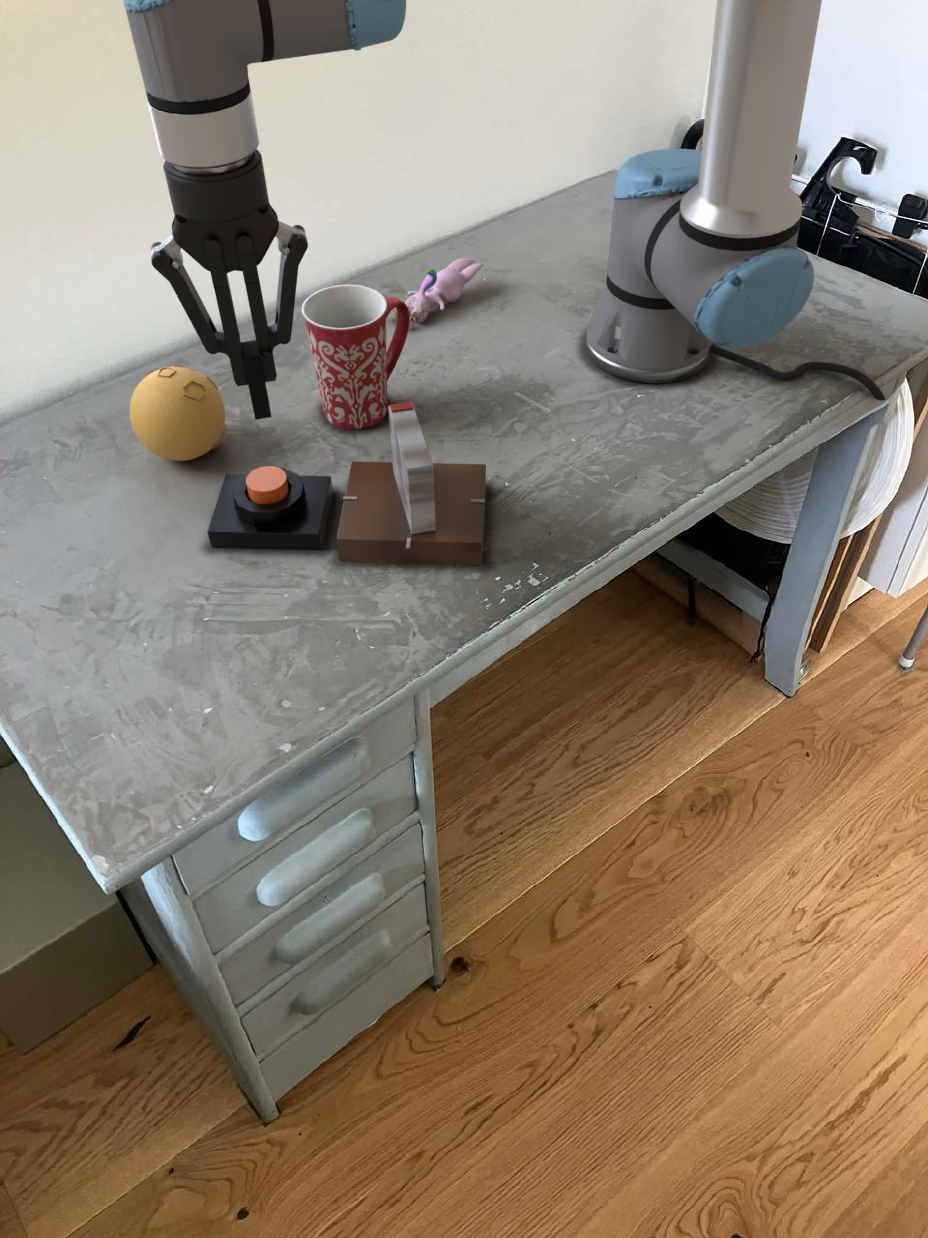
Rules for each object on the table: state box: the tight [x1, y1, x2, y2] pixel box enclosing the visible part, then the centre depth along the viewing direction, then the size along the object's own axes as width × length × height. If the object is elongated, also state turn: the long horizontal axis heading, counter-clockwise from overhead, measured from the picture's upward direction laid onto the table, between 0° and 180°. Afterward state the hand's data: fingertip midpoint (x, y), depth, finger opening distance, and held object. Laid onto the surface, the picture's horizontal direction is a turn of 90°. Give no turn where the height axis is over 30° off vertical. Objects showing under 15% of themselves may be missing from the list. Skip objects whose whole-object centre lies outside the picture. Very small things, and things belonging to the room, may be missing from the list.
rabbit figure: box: [392, 257, 485, 330], centre depth 131 cm, size 6×6×15 cm
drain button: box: [246, 465, 289, 504], centre depth 101 cm, size 4×4×2 cm
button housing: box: [207, 467, 334, 551], centre depth 103 cm, size 11×9×4 cm
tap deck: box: [336, 461, 487, 566], centre depth 103 cm, size 14×14×3 cm
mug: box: [300, 284, 410, 431], centre depth 113 cm, size 13×9×14 cm
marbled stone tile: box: [387, 401, 436, 534], centre depth 99 cm, size 10×2×8 cm, turn 13°
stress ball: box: [129, 365, 227, 462], centre depth 109 cm, size 10×10×10 cm
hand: (262, 409), depth 95 cm, fingers closed
